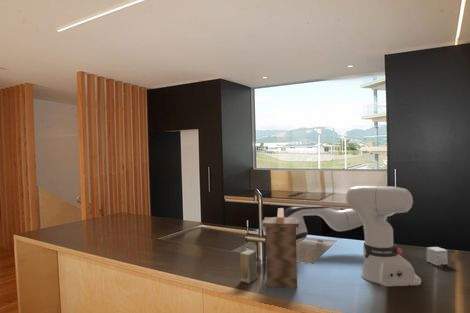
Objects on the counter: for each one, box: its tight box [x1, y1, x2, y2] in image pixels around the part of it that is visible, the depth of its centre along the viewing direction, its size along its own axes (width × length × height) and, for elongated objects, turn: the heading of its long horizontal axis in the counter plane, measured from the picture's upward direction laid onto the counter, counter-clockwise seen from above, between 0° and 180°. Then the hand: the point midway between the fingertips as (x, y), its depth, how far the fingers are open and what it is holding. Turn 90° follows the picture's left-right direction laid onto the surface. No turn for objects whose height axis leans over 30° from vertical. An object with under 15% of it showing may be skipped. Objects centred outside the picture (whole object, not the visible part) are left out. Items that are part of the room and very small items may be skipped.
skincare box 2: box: [426, 246, 449, 265], centre depth 147 cm, size 6×6×7 cm
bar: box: [276, 207, 285, 224], centre depth 134 cm, size 2×21×2 cm, turn 171°
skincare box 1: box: [239, 249, 258, 284], centre depth 133 cm, size 6×4×12 cm
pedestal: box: [262, 216, 299, 289], centre depth 130 cm, size 14×12×26 cm
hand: (281, 220), depth 151 cm, fingers open, 8 cm apart
